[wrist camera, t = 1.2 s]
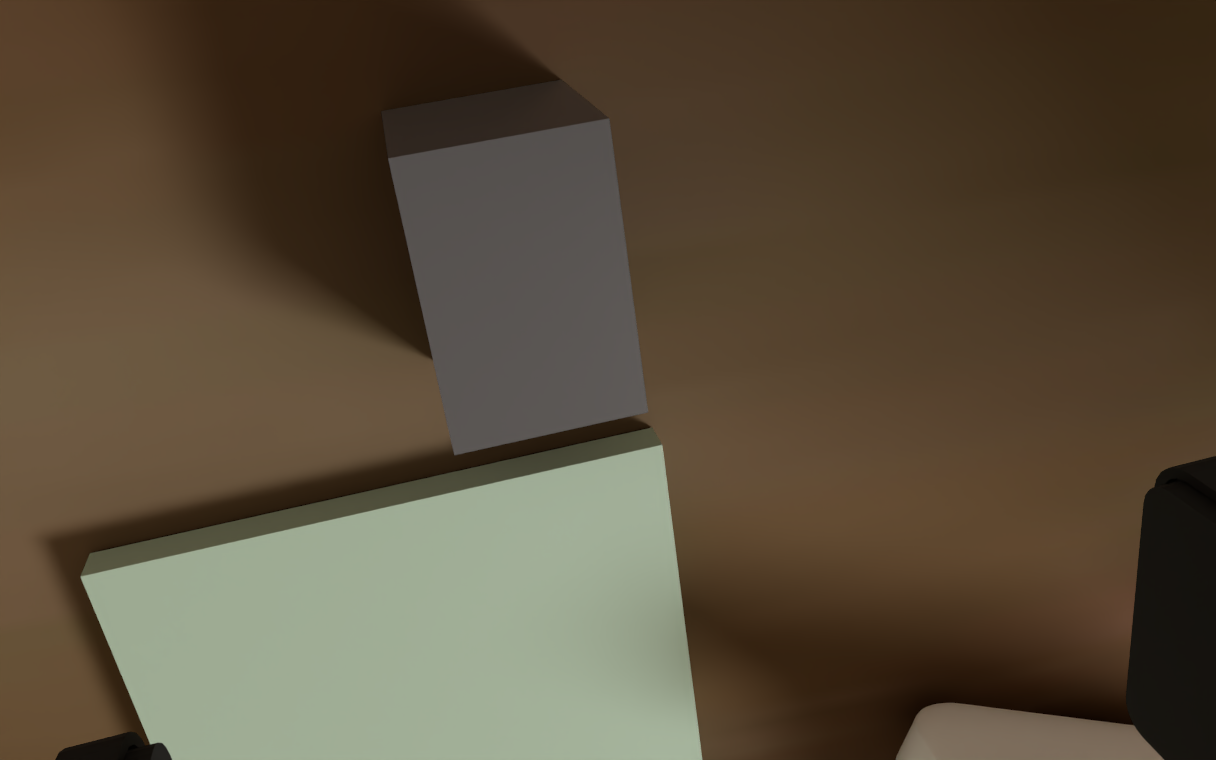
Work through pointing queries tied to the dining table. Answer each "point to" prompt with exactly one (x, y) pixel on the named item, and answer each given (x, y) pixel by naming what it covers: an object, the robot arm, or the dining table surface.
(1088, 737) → the cable organizer
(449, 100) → the plug
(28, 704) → the dining table surface
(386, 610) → the board
